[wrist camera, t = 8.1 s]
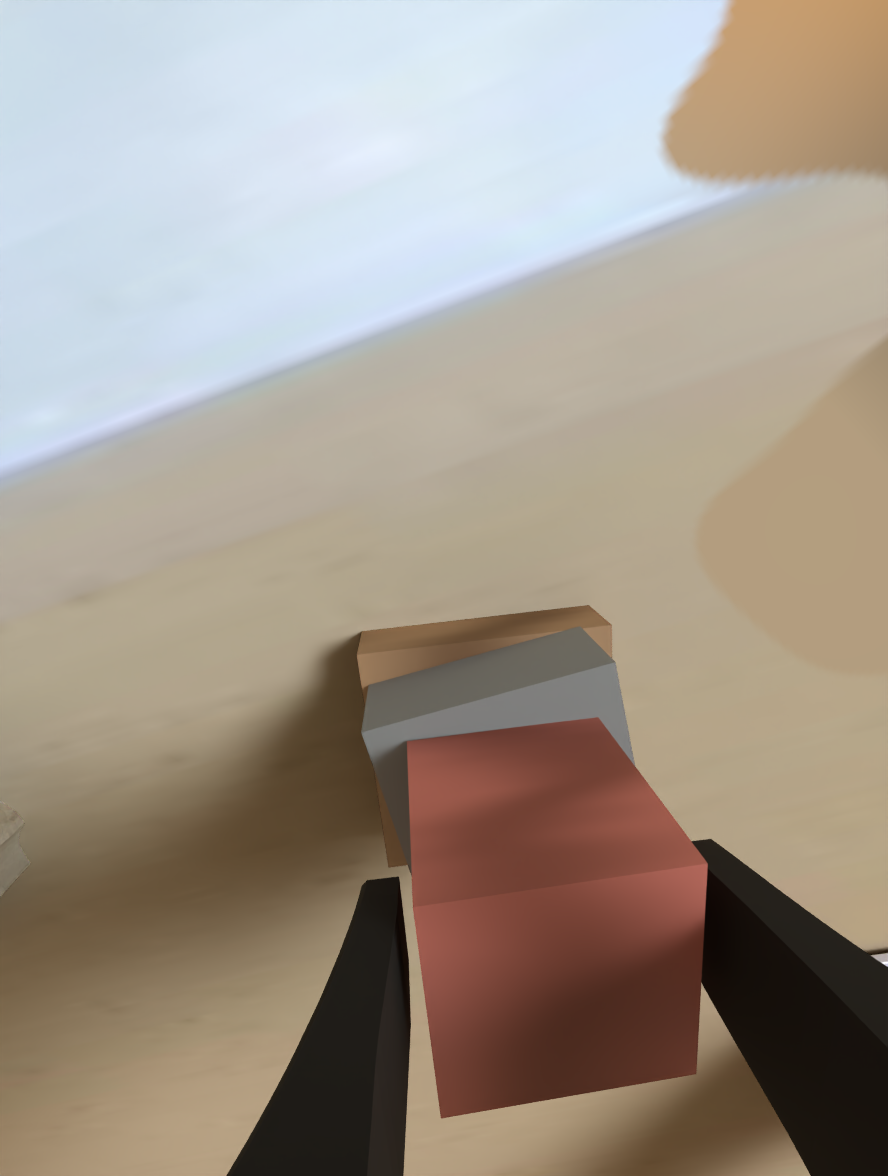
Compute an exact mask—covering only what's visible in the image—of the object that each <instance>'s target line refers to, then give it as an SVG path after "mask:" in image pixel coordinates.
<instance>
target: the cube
mask: <svg viewBox="0 0 888 1176" xmlns="http://www.w3.org/2000/svg"><path fill="white" fill-rule="evenodd" d="M407 761H408V787H409V814H410V841H411V868H412V895H413V911H414V919H415V926H416V934H417V941H418V949H419V956H420V964H421V971H422V979H423V987H424V994H425V1002H426V1009H427V1017H428V1024H429V1032H430V1039H431V1047H432V1054H433V1062H434V1069H435V1077H436V1084H437V1092H438V1099H439V1107H440V1114H441V1118H446V1117H452V1116H458V1115H463V1114H469V1113H475V1112H481V1111H486V1110H492V1109H498V1108H504V1107H509V1106H515V1105H521V1104H527V1103H532V1102H538V1101H544V1100H550V1099H555V1098H561V1097H567V1096H573V1095H578V1094H584V1093H590V1092H596V1091H601V1090H607V1089H613V1088H619V1087H625V1086H630V1085H636V1084H642V1083H648V1082H653V1081H659V1080H665V1079H671V1078H676V1077H682V1076H688V1075H694V1074H696V1069H697V1051H698V1032H699V1014H700V996H701V978H702V959H703V941H704V923H705V905H706V886H707V868H708V863H707V862H706V861H705V859H704V858H703V857H702V855H701V854H700V853H699V851H698V850H697V849H696V847H695V846H694V844H693V843H692V842H691V840H690V839H689V838H688V836H687V835H686V834H685V832H684V831H683V830H682V828H681V827H680V826H679V824H678V823H677V822H676V820H675V819H674V818H673V816H672V815H671V814H670V812H669V811H668V810H667V808H666V807H665V806H664V804H663V803H662V802H661V800H660V799H659V798H658V796H657V795H656V794H655V792H654V791H653V790H652V788H651V787H650V786H649V784H648V783H647V782H646V780H645V779H644V778H643V776H642V775H641V774H640V772H639V771H638V770H637V768H636V767H635V766H634V764H633V763H632V762H631V760H630V759H629V758H628V756H627V755H626V754H625V752H624V751H623V750H622V748H621V747H620V746H619V744H618V743H617V741H616V740H615V739H614V737H613V736H612V735H611V733H610V732H609V731H608V729H607V728H606V727H605V725H604V724H603V723H602V721H601V720H600V719H599V717H596V718H588V719H579V720H571V721H562V722H554V723H546V724H537V725H529V726H521V727H514V728H506V729H498V730H490V731H483V732H475V733H467V734H459V735H451V736H444V737H436V738H428V739H420V740H413V741H407Z"/></svg>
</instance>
